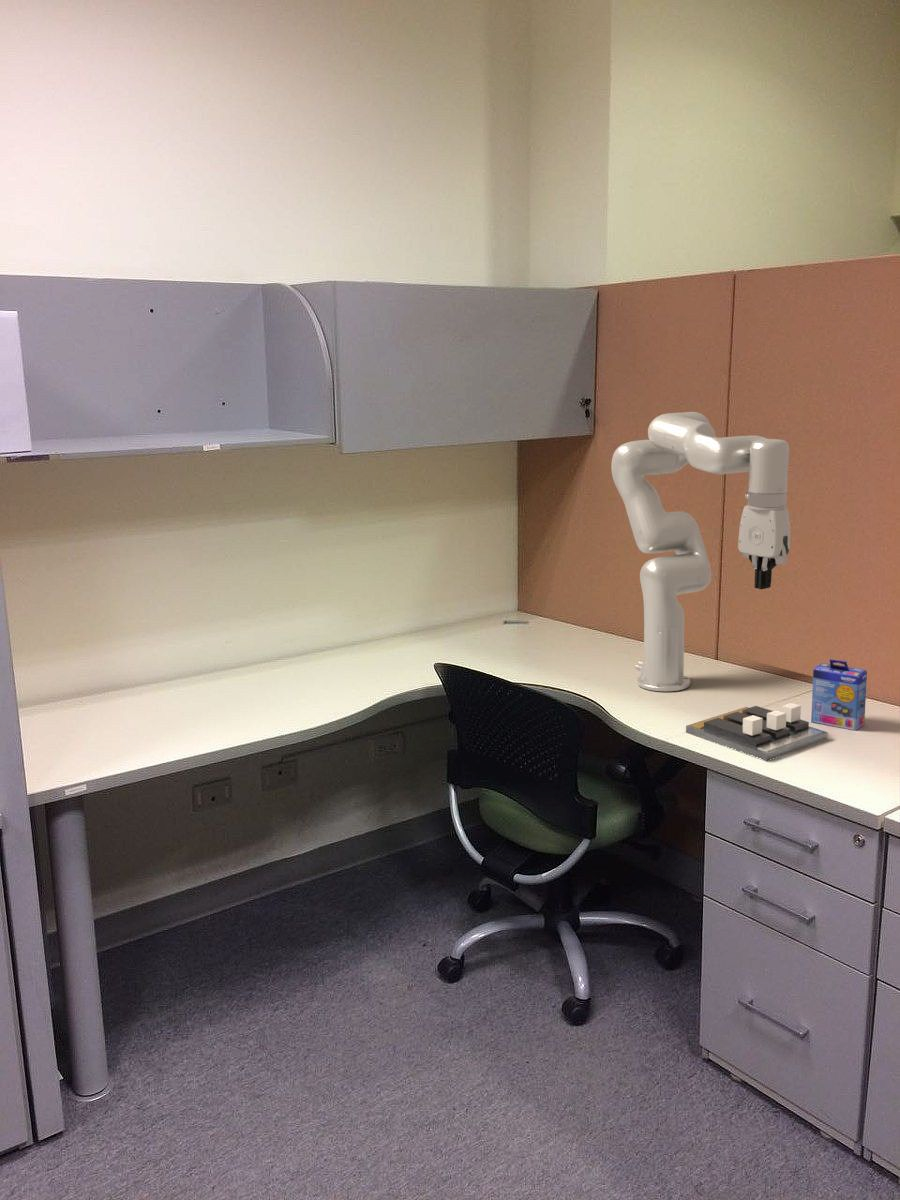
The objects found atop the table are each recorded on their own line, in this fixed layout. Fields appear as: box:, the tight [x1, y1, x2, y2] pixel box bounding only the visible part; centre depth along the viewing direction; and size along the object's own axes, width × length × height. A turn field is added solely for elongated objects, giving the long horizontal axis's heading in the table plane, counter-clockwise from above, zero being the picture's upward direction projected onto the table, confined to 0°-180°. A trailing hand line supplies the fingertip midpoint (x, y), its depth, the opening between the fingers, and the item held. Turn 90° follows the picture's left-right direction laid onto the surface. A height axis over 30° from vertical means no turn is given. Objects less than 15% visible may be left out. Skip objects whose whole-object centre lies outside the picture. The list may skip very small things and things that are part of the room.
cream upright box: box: [743, 715, 763, 736], centre depth 203 cm, size 2×3×3 cm
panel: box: [685, 705, 829, 762], centre depth 210 cm, size 21×19×3 cm
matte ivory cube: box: [766, 710, 786, 730], centre depth 205 cm, size 2×3×3 cm
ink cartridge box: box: [810, 658, 868, 731], centre depth 214 cm, size 10×6×14 cm, turn 51°
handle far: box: [781, 702, 802, 722], centre depth 209 cm, size 2×3×3 cm
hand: (762, 587), depth 211 cm, fingers closed
